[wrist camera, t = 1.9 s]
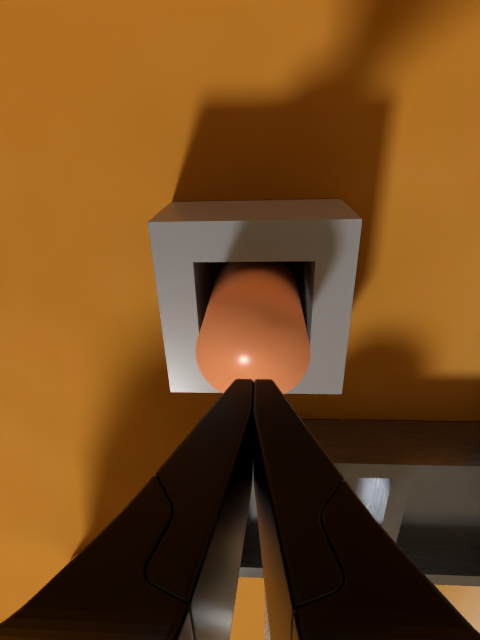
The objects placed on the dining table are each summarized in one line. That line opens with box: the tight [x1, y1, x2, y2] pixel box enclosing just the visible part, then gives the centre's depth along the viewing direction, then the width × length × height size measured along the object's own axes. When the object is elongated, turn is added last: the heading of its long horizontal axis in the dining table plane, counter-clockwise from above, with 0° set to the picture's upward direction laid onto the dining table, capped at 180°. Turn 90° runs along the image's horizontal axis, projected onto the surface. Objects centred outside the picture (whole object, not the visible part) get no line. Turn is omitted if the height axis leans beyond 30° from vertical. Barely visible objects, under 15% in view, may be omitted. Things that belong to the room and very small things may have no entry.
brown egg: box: [196, 262, 310, 394], centre depth 12 cm, size 3×3×4 cm
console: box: [148, 199, 362, 394], centre depth 14 cm, size 6×6×3 cm
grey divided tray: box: [239, 419, 480, 586], centre depth 18 cm, size 15×8×3 cm, turn 91°
